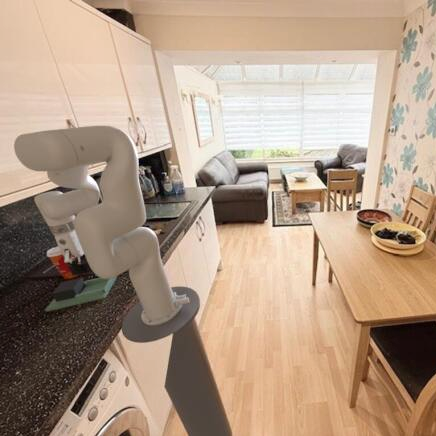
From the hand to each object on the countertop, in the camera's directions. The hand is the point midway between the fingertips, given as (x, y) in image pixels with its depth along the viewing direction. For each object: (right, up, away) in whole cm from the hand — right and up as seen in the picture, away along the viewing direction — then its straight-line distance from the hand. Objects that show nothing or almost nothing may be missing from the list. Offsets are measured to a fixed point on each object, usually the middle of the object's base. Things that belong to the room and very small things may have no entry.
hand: (86, 266), depth 92 cm
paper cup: (-19, -7, +15) cm, 25 cm away
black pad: (0, -1, 0) cm, 1 cm away
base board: (-4, -11, +4) cm, 12 cm away
